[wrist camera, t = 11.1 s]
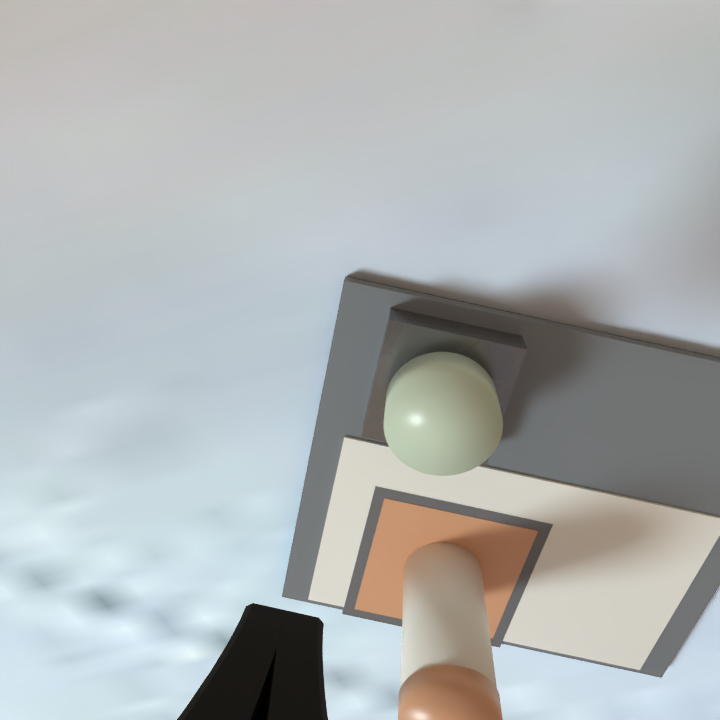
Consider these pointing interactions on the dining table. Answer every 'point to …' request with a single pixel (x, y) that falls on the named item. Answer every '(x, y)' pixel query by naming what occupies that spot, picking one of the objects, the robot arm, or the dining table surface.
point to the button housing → (434, 334)
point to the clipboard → (528, 490)
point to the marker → (446, 638)
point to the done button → (442, 414)
